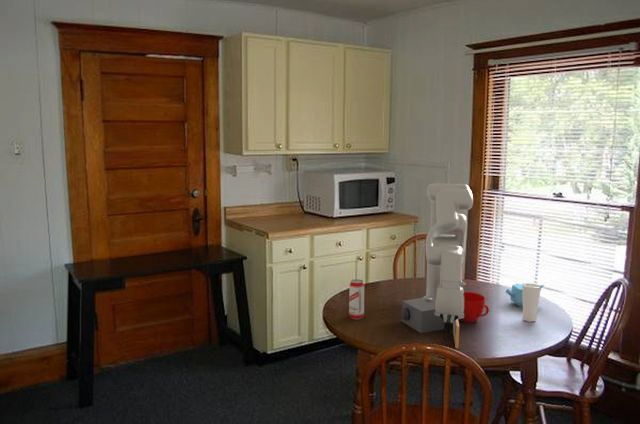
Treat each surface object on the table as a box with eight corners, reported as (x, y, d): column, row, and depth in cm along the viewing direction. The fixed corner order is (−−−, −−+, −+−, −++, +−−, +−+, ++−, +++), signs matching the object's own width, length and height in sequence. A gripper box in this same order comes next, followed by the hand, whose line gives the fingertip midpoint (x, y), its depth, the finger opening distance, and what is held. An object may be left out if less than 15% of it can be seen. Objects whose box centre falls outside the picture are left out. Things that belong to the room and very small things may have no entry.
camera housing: (431, 316, 231) (432, 294, 229) (452, 327, 218) (453, 304, 217) (398, 322, 224) (399, 299, 223) (418, 333, 212) (418, 309, 210)
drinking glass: (530, 323, 222) (532, 288, 220) (517, 318, 228) (519, 284, 226) (541, 321, 226) (544, 286, 223) (528, 316, 231) (530, 282, 229)
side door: (452, 326, 218) (453, 306, 217) (455, 326, 218) (456, 306, 217) (455, 348, 197) (456, 326, 196) (458, 348, 197) (459, 326, 196)
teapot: (511, 310, 239) (512, 288, 237) (498, 300, 253) (499, 279, 251) (550, 309, 241) (551, 287, 239) (535, 299, 254) (536, 278, 253)
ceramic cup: (476, 330, 215) (477, 306, 214) (445, 317, 230) (446, 295, 228) (498, 324, 222) (499, 300, 221) (466, 312, 236) (467, 290, 235)
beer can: (355, 313, 234) (356, 278, 232) (366, 317, 230) (367, 281, 227) (346, 317, 230) (346, 281, 227) (357, 321, 225) (357, 284, 223)
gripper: (472, 283, 198) (470, 331, 201) (431, 279, 203) (429, 325, 206) (470, 288, 191) (468, 338, 194) (428, 284, 196) (426, 332, 199)
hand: (448, 331), depth 200 cm, fingers closed
